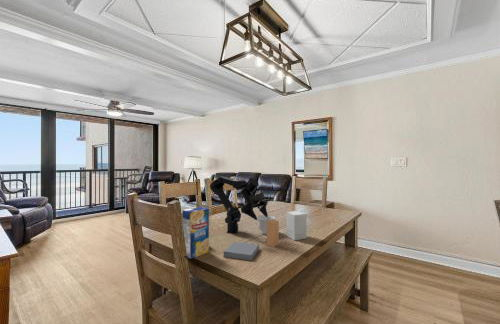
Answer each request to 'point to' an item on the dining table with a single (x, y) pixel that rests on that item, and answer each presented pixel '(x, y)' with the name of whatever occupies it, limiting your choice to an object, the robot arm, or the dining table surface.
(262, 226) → the teacup
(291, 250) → the dining table surface
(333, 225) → the dining table surface
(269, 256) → the dining table surface
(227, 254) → the display podium
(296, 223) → the supplement box
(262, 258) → the dining table surface
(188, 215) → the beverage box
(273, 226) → the orange carton
